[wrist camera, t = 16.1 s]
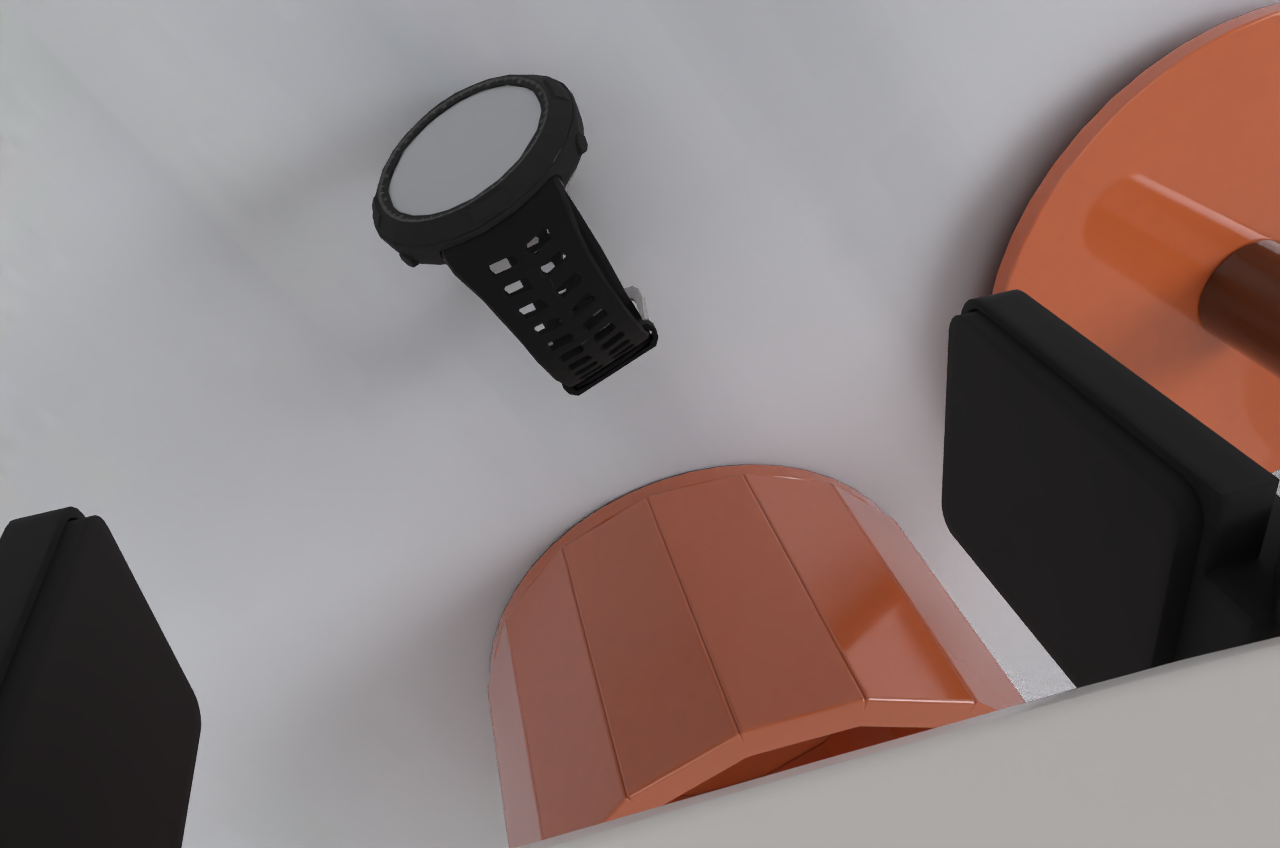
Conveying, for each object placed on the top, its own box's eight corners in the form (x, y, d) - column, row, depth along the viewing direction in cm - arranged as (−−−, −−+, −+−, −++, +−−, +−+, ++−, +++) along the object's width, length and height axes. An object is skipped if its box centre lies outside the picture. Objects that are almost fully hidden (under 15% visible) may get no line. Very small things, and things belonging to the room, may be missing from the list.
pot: (442, 529, 23) (470, 806, 17) (920, 416, 24) (1111, 633, 18) (534, 839, 29) (579, 1124, 23) (910, 735, 31) (1049, 978, 24)
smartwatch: (580, 30, 18) (643, 104, 14) (624, 292, 21) (688, 418, 17) (346, 79, 18) (340, 169, 13) (424, 339, 20) (438, 480, 16)
